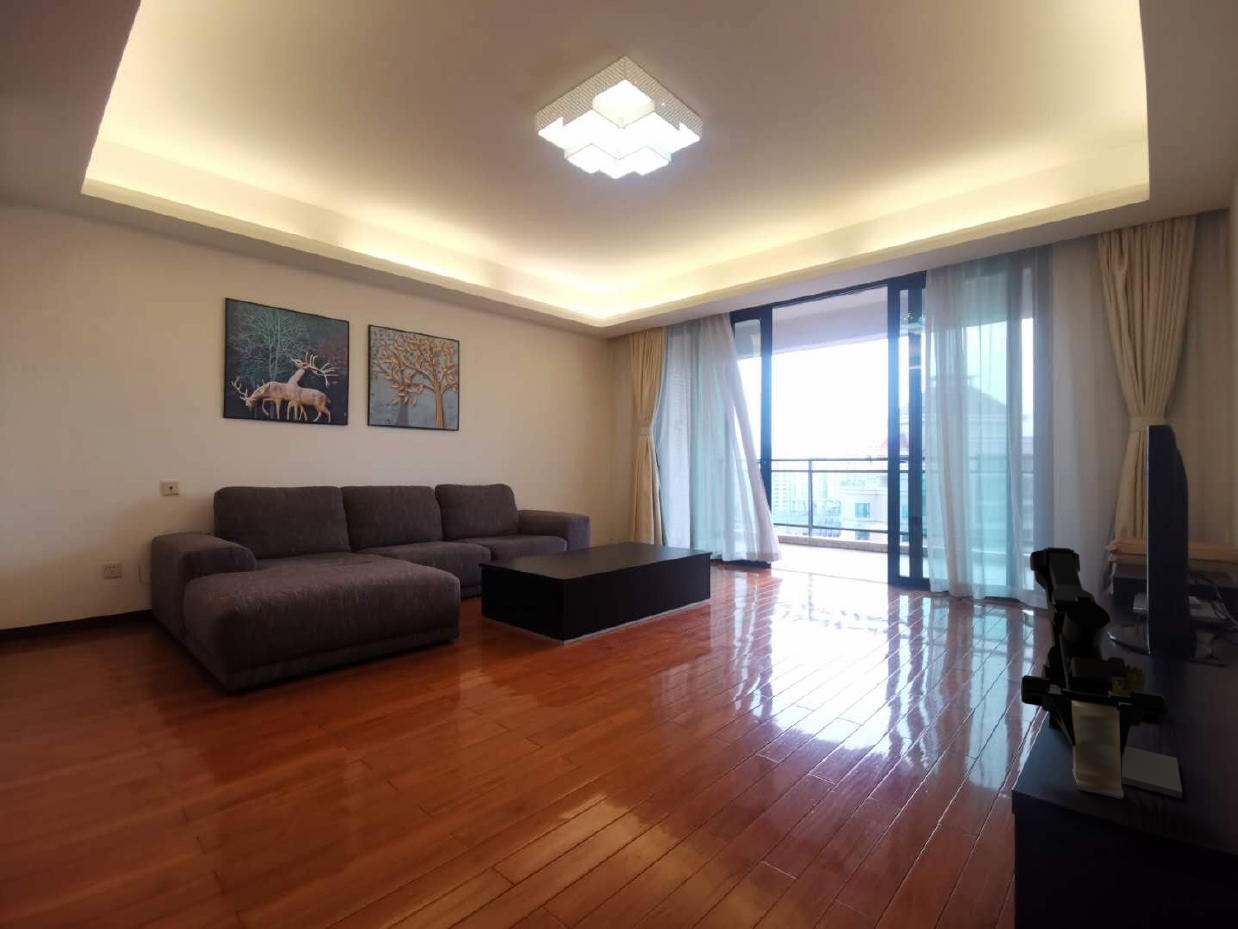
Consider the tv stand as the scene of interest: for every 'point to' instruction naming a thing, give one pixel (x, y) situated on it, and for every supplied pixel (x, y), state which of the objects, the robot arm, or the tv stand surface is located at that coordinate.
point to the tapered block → (1097, 747)
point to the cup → (1129, 682)
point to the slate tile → (1150, 770)
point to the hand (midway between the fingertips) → (1097, 749)
